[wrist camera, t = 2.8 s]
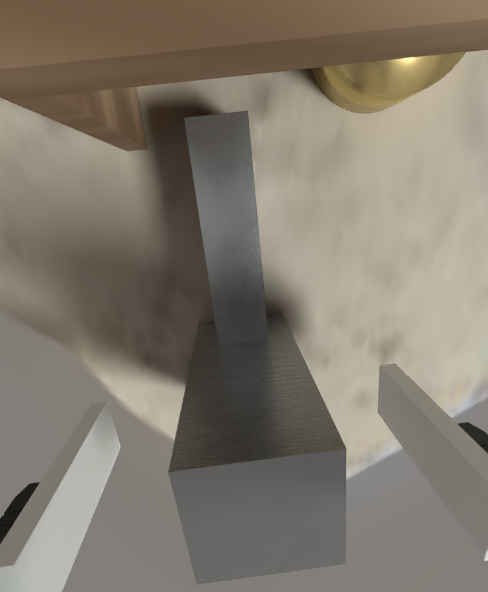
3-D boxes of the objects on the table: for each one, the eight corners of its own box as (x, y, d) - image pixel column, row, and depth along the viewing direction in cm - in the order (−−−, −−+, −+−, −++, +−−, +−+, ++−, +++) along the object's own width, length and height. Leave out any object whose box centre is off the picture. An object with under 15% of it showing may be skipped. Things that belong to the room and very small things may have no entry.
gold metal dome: (303, -39, 13) (326, -105, 10) (441, -53, 13) (501, -121, 10) (308, 120, 15) (328, 103, 12) (428, 107, 15) (475, 87, 12)
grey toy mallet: (166, 135, 14) (55, 26, 5) (269, 123, 15) (349, -2, 5) (210, 394, 19) (196, 584, 10) (287, 384, 20) (345, 563, 10)
